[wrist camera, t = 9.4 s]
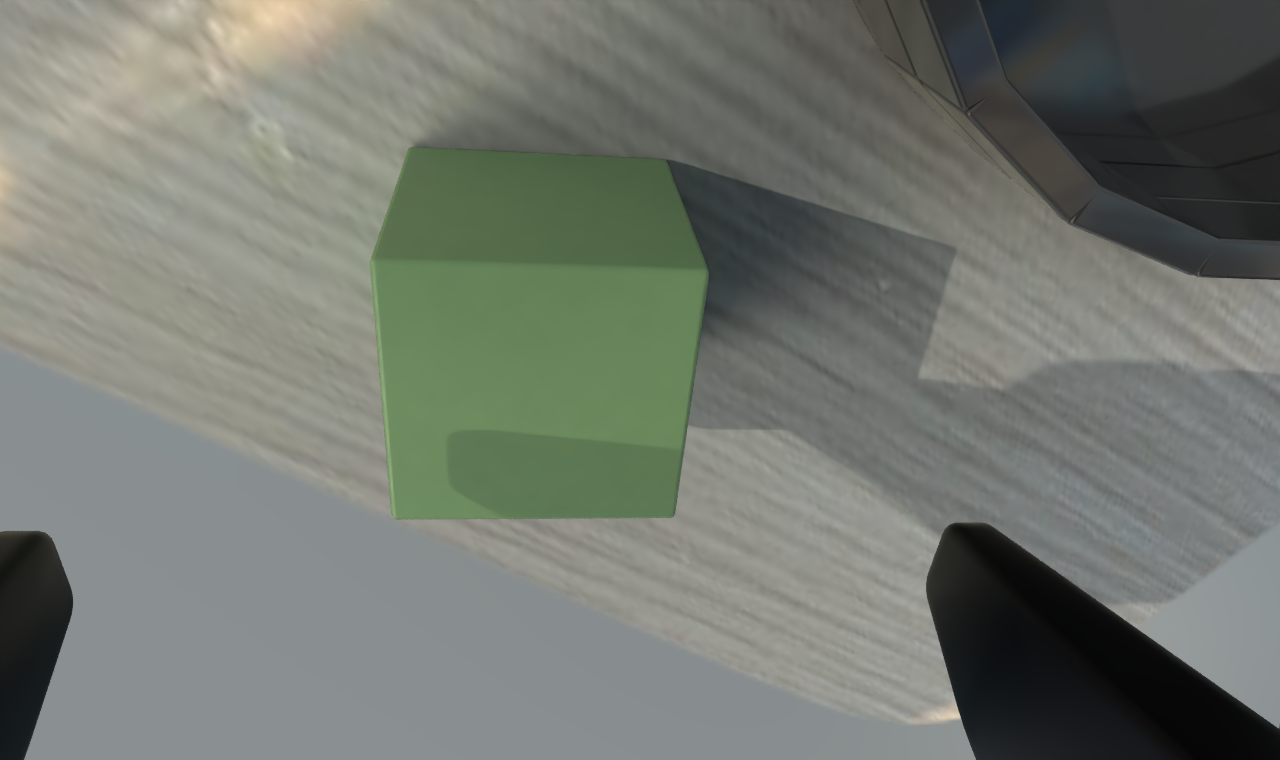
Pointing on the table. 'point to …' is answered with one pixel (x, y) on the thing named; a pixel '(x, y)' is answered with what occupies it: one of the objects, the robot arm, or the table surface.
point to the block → (536, 335)
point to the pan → (1114, 114)
